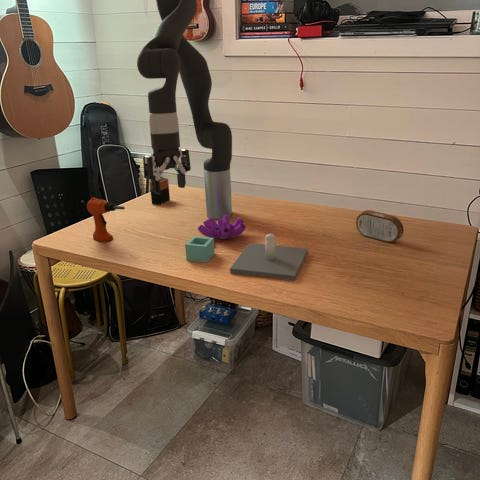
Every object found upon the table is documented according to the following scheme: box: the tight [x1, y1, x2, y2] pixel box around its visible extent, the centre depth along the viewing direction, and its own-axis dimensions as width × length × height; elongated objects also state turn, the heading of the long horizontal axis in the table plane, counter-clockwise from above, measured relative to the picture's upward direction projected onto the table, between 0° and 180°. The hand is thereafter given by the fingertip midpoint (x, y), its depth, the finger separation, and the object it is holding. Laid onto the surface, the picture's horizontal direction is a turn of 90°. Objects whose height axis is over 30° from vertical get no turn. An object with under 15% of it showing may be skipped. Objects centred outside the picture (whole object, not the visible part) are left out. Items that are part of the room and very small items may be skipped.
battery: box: [149, 175, 171, 206], centre depth 190 cm, size 4×7×10 cm, turn 152°
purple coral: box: [197, 215, 247, 240], centre depth 155 cm, size 11×15×10 cm
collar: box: [184, 235, 215, 263], centre depth 142 cm, size 6×6×5 cm
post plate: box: [229, 233, 309, 282], centre depth 136 cm, size 18×18×9 cm
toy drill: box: [86, 197, 126, 243], centre depth 153 cm, size 5×18×14 cm, turn 53°
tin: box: [355, 209, 404, 244], centre depth 150 cm, size 15×3×8 cm, turn 47°
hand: (169, 190), depth 132 cm, fingers open, 8 cm apart
